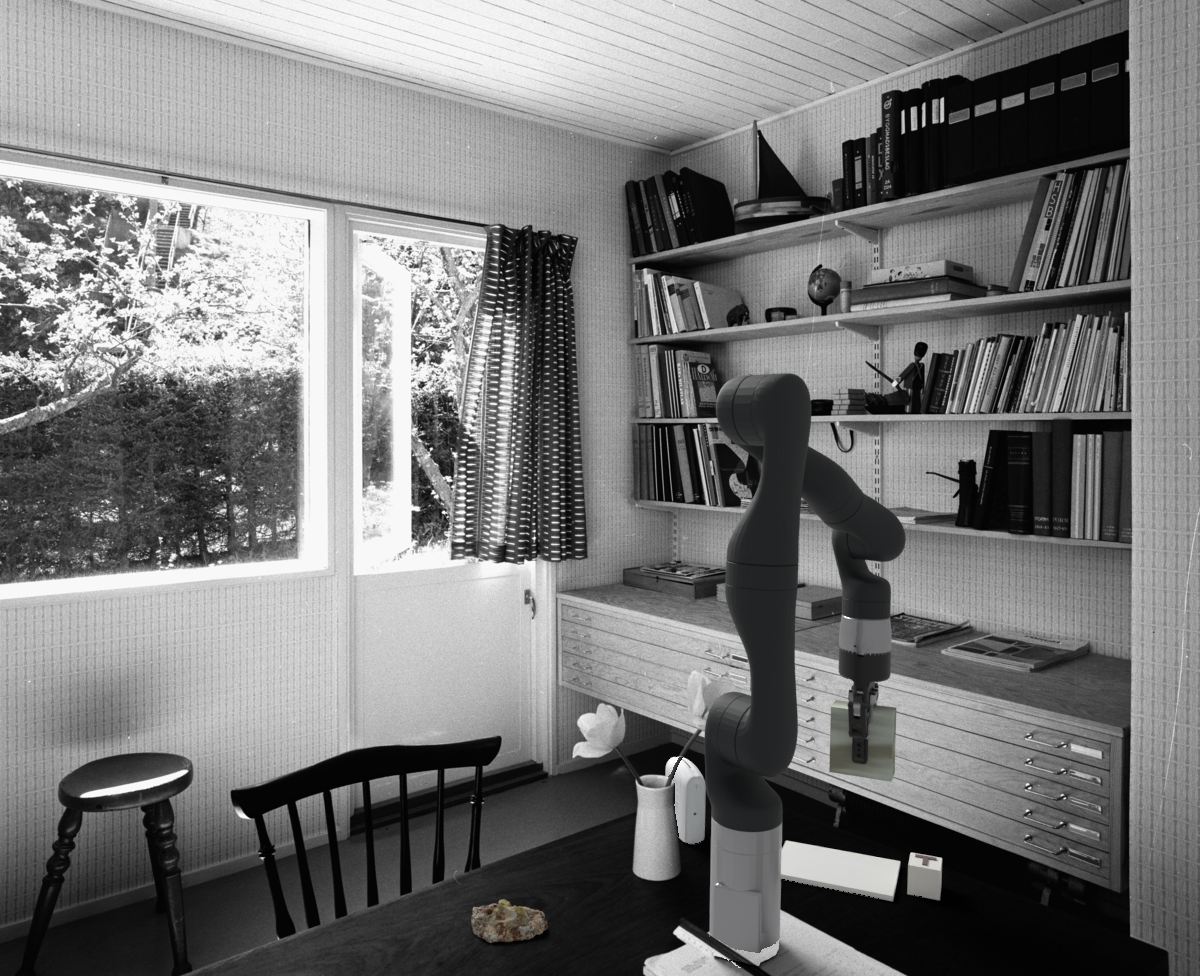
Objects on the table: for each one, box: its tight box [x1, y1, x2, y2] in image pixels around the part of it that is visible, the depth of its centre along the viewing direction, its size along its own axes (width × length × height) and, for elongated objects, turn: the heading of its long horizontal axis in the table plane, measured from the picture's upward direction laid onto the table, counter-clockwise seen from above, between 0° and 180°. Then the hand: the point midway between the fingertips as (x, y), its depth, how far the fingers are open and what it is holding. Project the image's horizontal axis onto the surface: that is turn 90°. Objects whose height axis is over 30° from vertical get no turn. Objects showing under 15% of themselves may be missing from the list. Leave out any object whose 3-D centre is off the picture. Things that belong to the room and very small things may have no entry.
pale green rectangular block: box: [829, 699, 897, 783], centre depth 137 cm, size 4×9×10 cm, turn 65°
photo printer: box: [665, 756, 707, 845], centre depth 154 cm, size 10×4×12 cm, turn 17°
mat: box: [781, 840, 901, 902], centre depth 141 cm, size 12×18×1 cm, turn 67°
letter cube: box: [906, 852, 943, 901], centre depth 135 cm, size 4×4×5 cm
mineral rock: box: [470, 898, 549, 944], centre depth 124 cm, size 11×4×8 cm
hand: (861, 757), depth 137 cm, fingers closed on pale green rectangular block, 4 cm apart
